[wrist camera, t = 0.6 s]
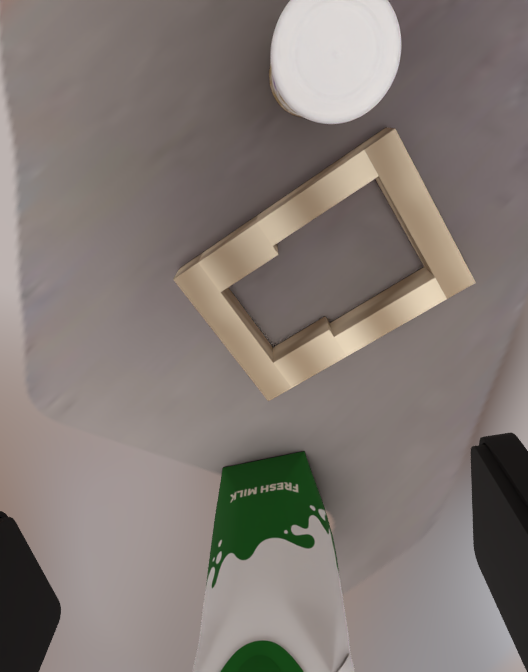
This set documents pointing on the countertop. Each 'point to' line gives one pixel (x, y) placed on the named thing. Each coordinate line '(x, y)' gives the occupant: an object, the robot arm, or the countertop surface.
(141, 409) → the countertop surface
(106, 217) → the countertop surface
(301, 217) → the wooden frame
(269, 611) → the milk carton
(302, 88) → the sprinkles bottle
